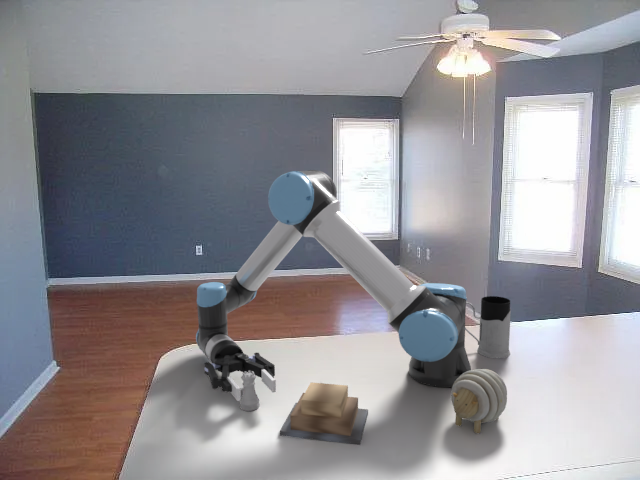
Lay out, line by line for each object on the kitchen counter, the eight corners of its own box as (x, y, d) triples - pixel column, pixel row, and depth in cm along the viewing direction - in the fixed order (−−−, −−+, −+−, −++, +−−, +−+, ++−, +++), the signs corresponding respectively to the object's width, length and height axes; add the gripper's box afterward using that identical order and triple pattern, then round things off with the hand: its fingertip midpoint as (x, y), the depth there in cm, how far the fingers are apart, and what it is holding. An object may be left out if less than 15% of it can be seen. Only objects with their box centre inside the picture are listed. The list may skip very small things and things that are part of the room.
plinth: (368, 413, 109) (368, 382, 108) (359, 444, 98) (359, 410, 97) (295, 406, 113) (295, 376, 112) (279, 435, 101) (278, 402, 100)
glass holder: (510, 359, 137) (513, 305, 134) (455, 354, 141) (457, 301, 139) (509, 348, 145) (512, 296, 142) (458, 343, 149) (459, 293, 147)
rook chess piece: (256, 412, 111) (254, 378, 109) (236, 411, 111) (235, 376, 110) (262, 403, 115) (261, 369, 114) (243, 401, 116) (242, 368, 114)
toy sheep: (435, 429, 103) (436, 377, 101) (473, 398, 115) (474, 352, 113) (486, 448, 96) (488, 393, 94) (520, 414, 108) (522, 364, 106)
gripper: (262, 360, 133) (300, 396, 113) (184, 376, 124) (210, 418, 104) (261, 332, 132) (299, 364, 112) (183, 347, 123) (208, 383, 103)
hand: (256, 390), depth 108 cm, fingers open, 7 cm apart
